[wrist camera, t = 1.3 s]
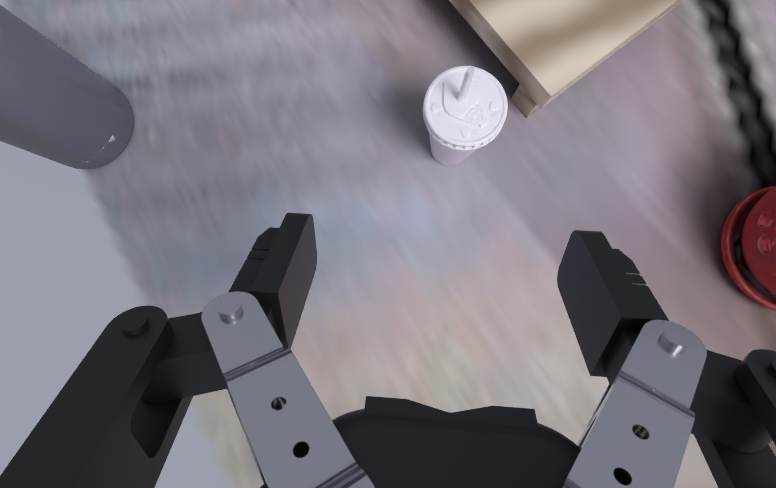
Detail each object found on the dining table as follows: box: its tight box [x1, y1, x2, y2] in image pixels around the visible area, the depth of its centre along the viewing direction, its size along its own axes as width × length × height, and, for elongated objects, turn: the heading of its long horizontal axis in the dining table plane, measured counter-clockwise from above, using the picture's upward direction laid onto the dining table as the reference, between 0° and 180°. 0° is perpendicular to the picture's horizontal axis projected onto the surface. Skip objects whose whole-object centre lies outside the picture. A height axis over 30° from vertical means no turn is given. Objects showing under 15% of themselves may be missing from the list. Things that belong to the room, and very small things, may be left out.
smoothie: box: [423, 66, 508, 166], centre depth 34 cm, size 6×6×14 cm
